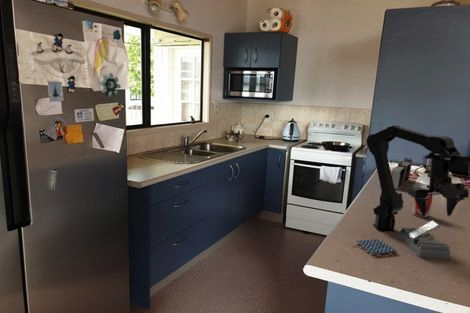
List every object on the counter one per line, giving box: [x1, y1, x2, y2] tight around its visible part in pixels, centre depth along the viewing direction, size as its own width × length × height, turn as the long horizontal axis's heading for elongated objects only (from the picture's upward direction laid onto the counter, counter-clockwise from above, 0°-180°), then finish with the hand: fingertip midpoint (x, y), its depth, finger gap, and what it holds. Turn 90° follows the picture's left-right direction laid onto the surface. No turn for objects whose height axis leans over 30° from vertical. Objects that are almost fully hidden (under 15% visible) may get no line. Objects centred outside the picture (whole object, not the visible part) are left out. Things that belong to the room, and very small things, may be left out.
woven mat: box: [355, 238, 399, 258], centre depth 123 cm, size 10×11×2 cm
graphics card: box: [391, 157, 413, 191], centre depth 214 cm, size 33×5×14 cm, turn 143°
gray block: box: [407, 220, 440, 240], centre depth 125 cm, size 10×4×1 cm
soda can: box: [412, 195, 434, 218], centre depth 159 cm, size 7×7×12 cm
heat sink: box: [398, 227, 451, 260], centre depth 126 cm, size 10×16×5 cm, turn 178°
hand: (436, 215), depth 124 cm, fingers open, 9 cm apart
